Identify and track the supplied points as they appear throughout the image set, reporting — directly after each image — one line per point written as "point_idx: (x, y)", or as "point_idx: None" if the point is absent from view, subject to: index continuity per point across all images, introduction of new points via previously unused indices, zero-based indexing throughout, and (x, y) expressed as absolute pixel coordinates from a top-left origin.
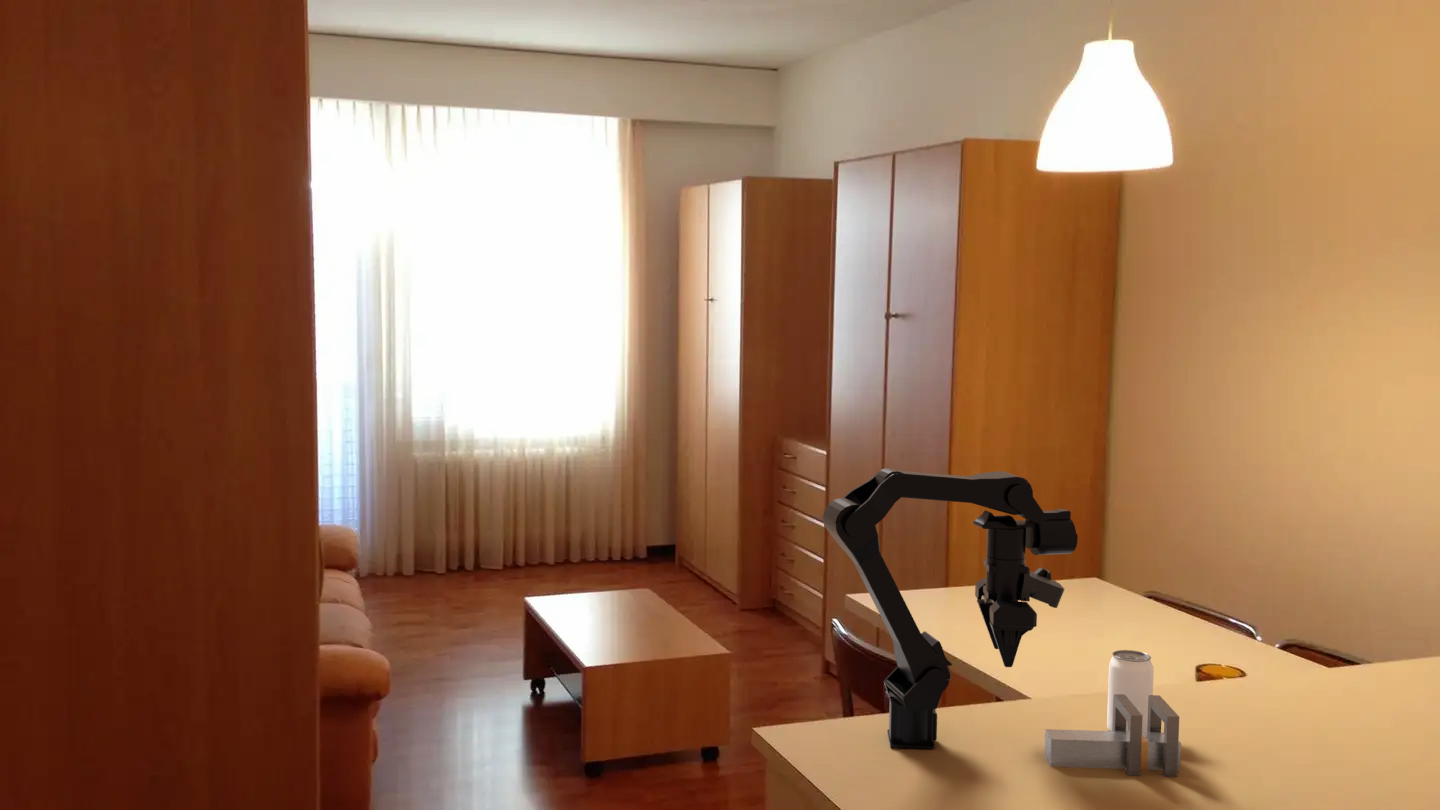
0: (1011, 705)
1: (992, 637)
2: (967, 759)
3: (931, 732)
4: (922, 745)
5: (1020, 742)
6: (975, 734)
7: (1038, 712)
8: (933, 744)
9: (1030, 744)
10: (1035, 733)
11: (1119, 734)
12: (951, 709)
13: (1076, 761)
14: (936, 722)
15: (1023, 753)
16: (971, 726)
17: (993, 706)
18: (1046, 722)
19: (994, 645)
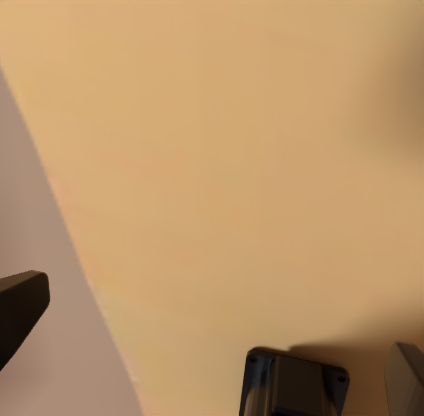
0: (37, 97)
1: (2, 358)
2: (421, 320)
3: (325, 392)
4: (343, 396)
5: (315, 153)
6: (250, 251)
7: (78, 30)
8: (339, 374)
9: (333, 129)
10: (246, 88)
11: None
12: (87, 254)
13: None
14: (323, 401)
15: (402, 170)
16: (196, 243)
17: (52, 148)
18: (156, 26)
19: (38, 316)
